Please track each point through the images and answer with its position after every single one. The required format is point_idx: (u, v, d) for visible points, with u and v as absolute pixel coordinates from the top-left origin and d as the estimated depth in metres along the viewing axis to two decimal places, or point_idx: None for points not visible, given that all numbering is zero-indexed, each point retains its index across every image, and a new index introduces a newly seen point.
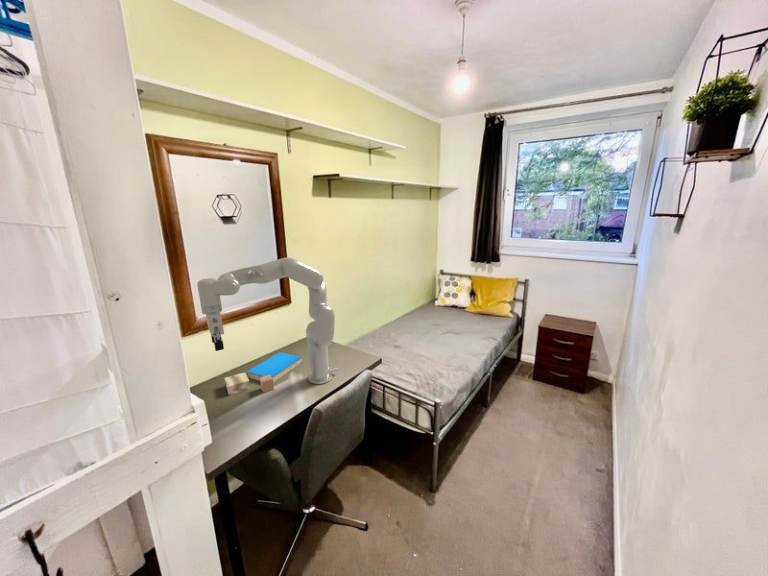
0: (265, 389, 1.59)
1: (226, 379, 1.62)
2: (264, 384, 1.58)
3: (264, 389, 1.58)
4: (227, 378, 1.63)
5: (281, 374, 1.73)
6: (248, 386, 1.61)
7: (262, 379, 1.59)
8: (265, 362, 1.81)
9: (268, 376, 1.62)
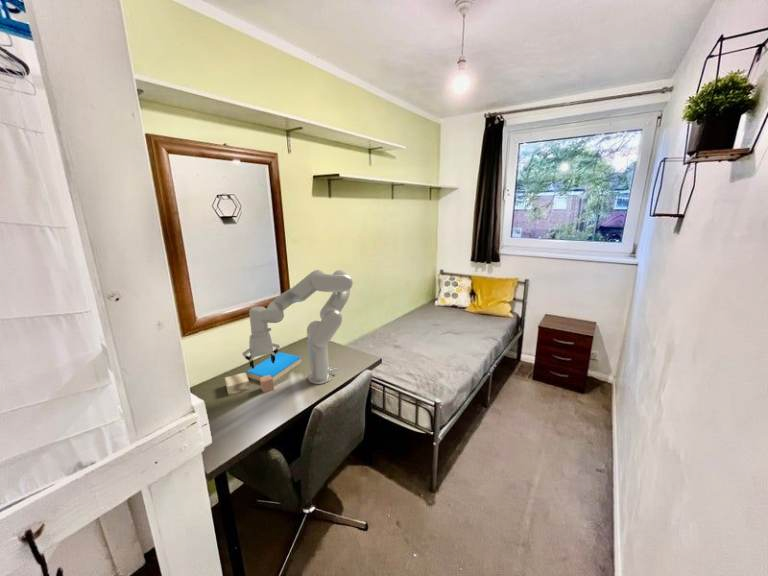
0: (265, 389, 1.59)
1: (226, 379, 1.62)
2: (264, 384, 1.58)
3: (264, 389, 1.58)
4: (227, 378, 1.63)
5: (281, 374, 1.73)
6: (248, 386, 1.61)
7: (262, 379, 1.59)
8: (265, 362, 1.81)
9: (268, 376, 1.62)
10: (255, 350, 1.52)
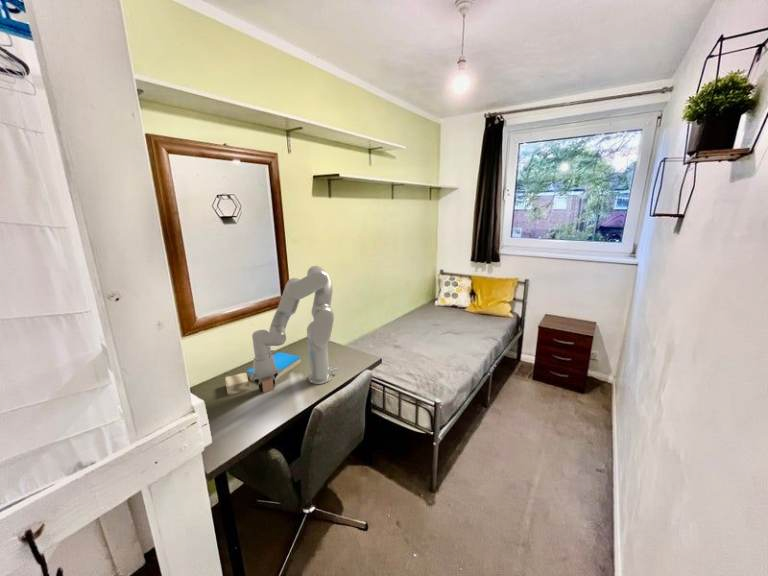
0: (265, 389, 1.59)
1: (226, 378, 1.62)
2: (264, 384, 1.58)
3: (264, 389, 1.58)
4: (228, 377, 1.63)
5: (280, 374, 1.73)
6: (247, 387, 1.60)
7: (262, 379, 1.59)
8: None
9: (268, 376, 1.62)
10: (259, 373, 1.55)
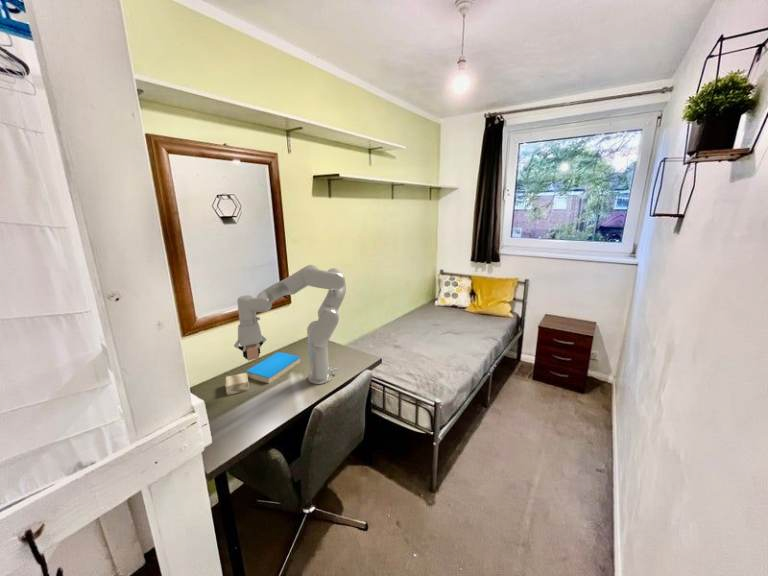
0: (250, 357, 1.54)
1: (227, 378, 1.63)
2: (249, 351, 1.53)
3: (249, 357, 1.54)
4: (228, 377, 1.63)
5: (280, 374, 1.73)
6: (246, 387, 1.60)
7: (247, 347, 1.55)
8: (264, 362, 1.81)
9: (253, 344, 1.57)
10: (244, 339, 1.51)
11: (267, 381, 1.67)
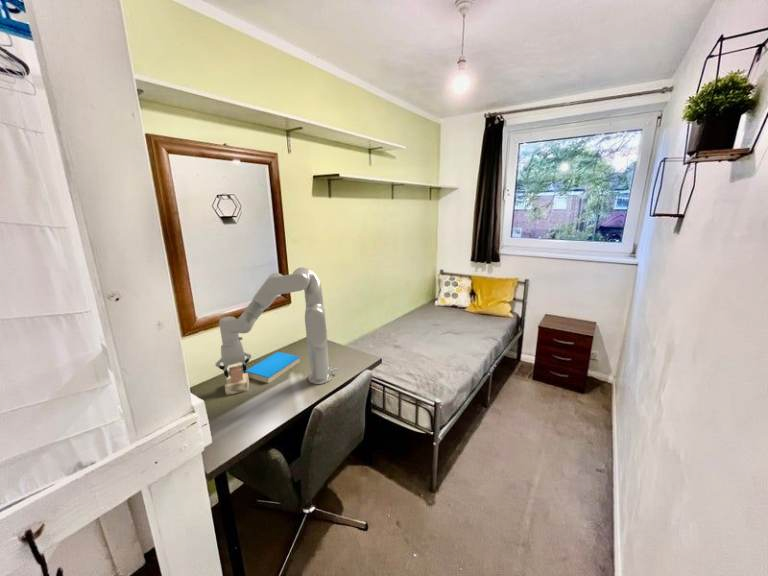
0: (234, 379, 1.59)
1: (227, 378, 1.63)
2: (233, 374, 1.58)
3: (233, 379, 1.58)
4: (229, 377, 1.64)
5: (279, 373, 1.73)
6: (246, 388, 1.60)
7: (231, 369, 1.59)
8: (263, 361, 1.82)
9: (238, 366, 1.62)
10: (226, 359, 1.55)
11: (266, 381, 1.67)
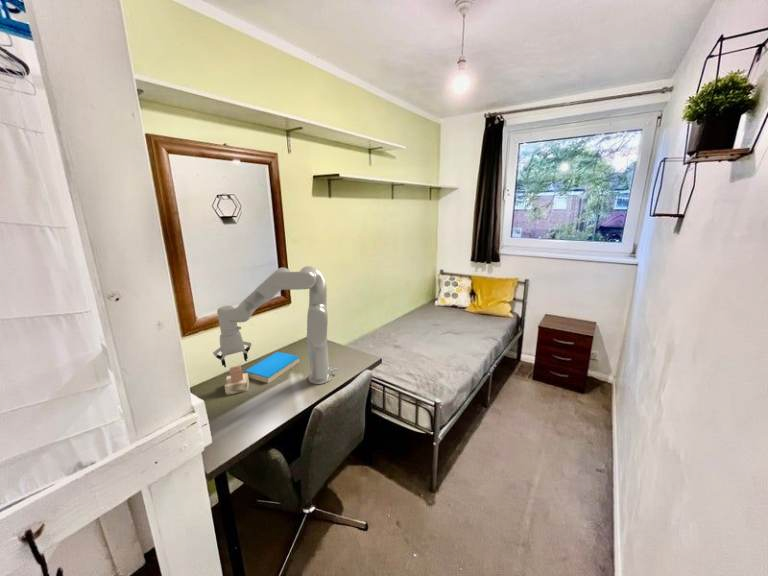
0: (234, 379, 1.59)
1: (227, 378, 1.63)
2: (233, 374, 1.58)
3: (233, 379, 1.59)
4: (229, 377, 1.64)
5: (279, 373, 1.74)
6: (245, 388, 1.59)
7: (231, 369, 1.60)
8: (263, 361, 1.82)
9: (238, 366, 1.62)
10: (225, 349, 1.54)
11: (266, 381, 1.67)
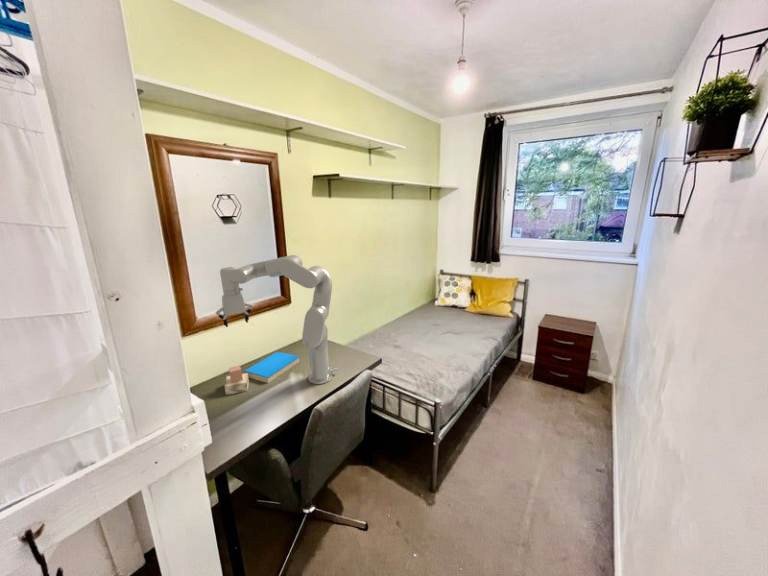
0: (234, 380, 1.59)
1: (227, 378, 1.63)
2: (232, 374, 1.58)
3: (233, 379, 1.58)
4: (229, 377, 1.64)
5: (279, 373, 1.74)
6: (245, 388, 1.59)
7: (231, 369, 1.59)
8: (263, 361, 1.82)
9: (237, 366, 1.62)
10: (228, 309, 1.59)
11: (266, 381, 1.67)
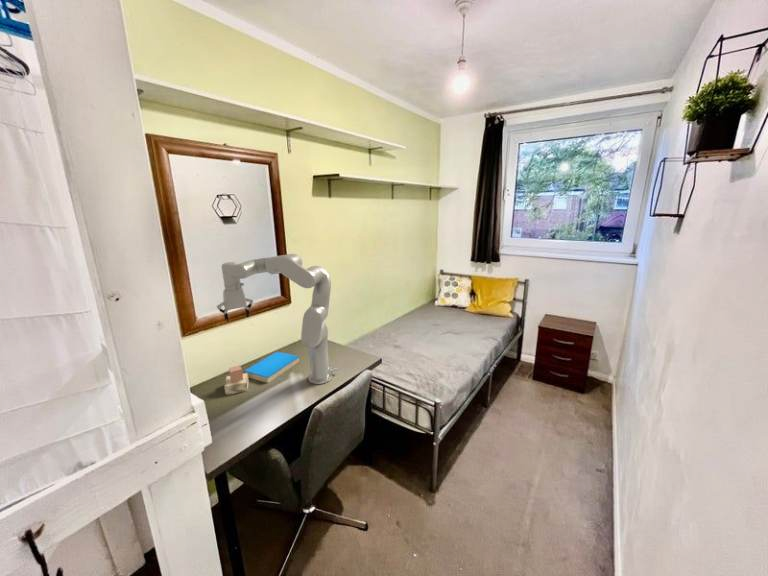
0: (234, 379, 1.59)
1: (227, 378, 1.63)
2: (233, 374, 1.58)
3: (233, 379, 1.59)
4: (228, 377, 1.64)
5: (278, 373, 1.74)
6: (245, 388, 1.59)
7: (231, 369, 1.59)
8: (262, 361, 1.82)
9: (238, 366, 1.62)
10: (229, 303, 1.61)
11: (266, 380, 1.67)
